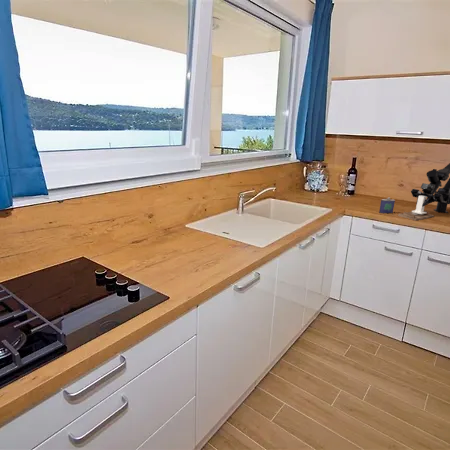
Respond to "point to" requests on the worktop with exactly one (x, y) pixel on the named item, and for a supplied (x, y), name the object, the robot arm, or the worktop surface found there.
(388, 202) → the flask
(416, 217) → the rail board
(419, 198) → the slider
